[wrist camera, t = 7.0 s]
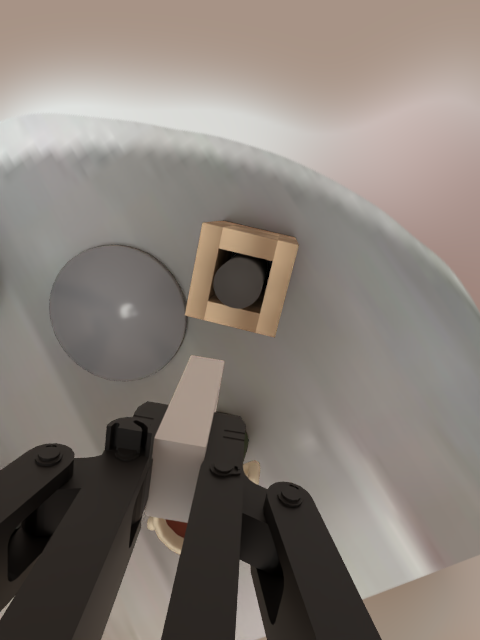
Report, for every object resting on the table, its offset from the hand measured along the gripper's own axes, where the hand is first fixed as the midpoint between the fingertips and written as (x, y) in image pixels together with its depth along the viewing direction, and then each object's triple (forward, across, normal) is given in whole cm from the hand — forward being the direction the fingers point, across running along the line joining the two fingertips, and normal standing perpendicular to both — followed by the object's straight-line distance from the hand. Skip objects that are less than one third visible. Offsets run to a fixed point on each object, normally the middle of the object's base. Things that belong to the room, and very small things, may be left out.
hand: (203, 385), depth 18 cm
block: (+23, +1, +2) cm, 23 cm away
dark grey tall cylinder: (+21, +1, +2) cm, 22 cm away
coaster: (+24, -11, -5) cm, 27 cm away
